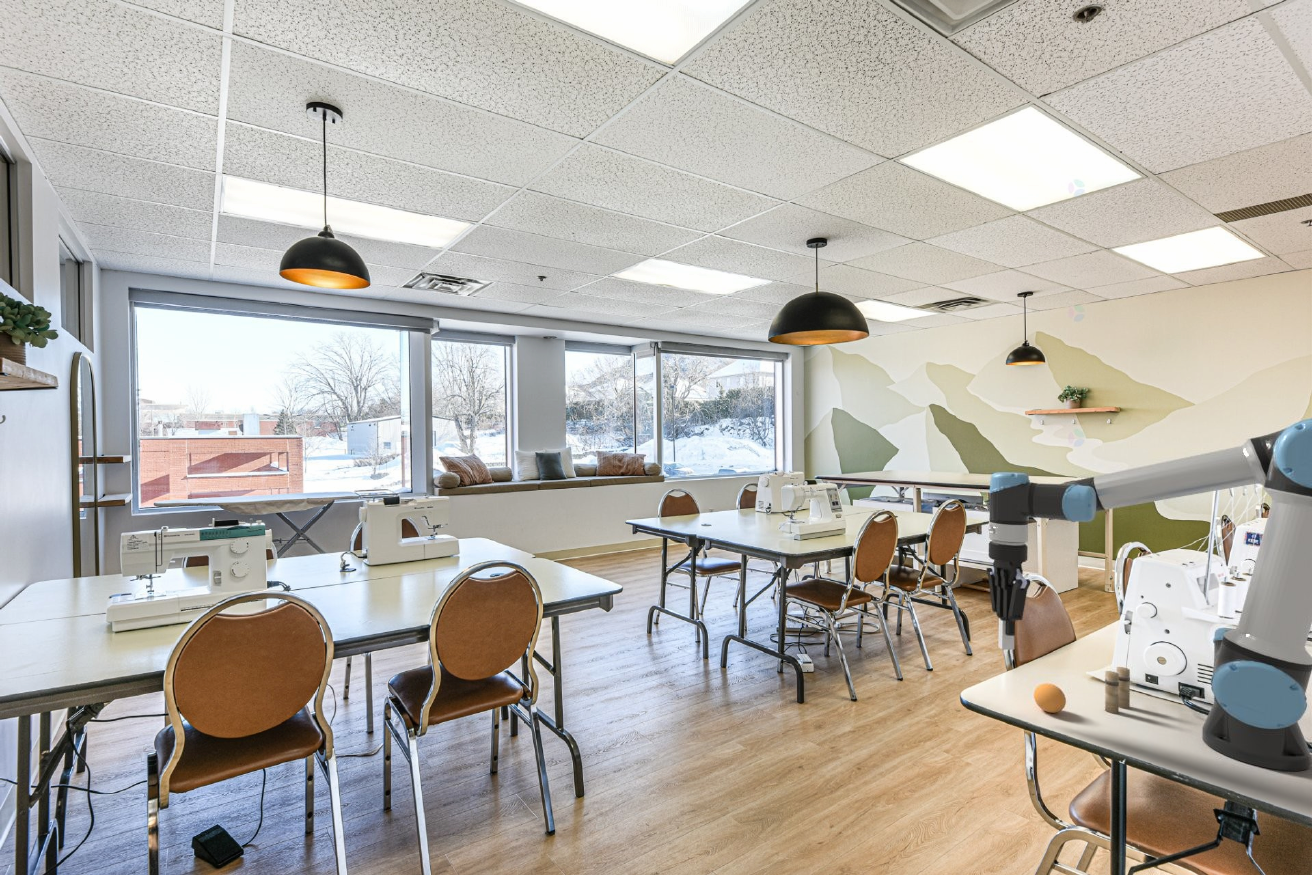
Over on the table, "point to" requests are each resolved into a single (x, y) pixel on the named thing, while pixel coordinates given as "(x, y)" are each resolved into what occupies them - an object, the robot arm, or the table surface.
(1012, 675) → the table surface
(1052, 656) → the table surface
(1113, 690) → the pin
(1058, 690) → the orange egg
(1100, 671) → the table surface
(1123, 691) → the pin
